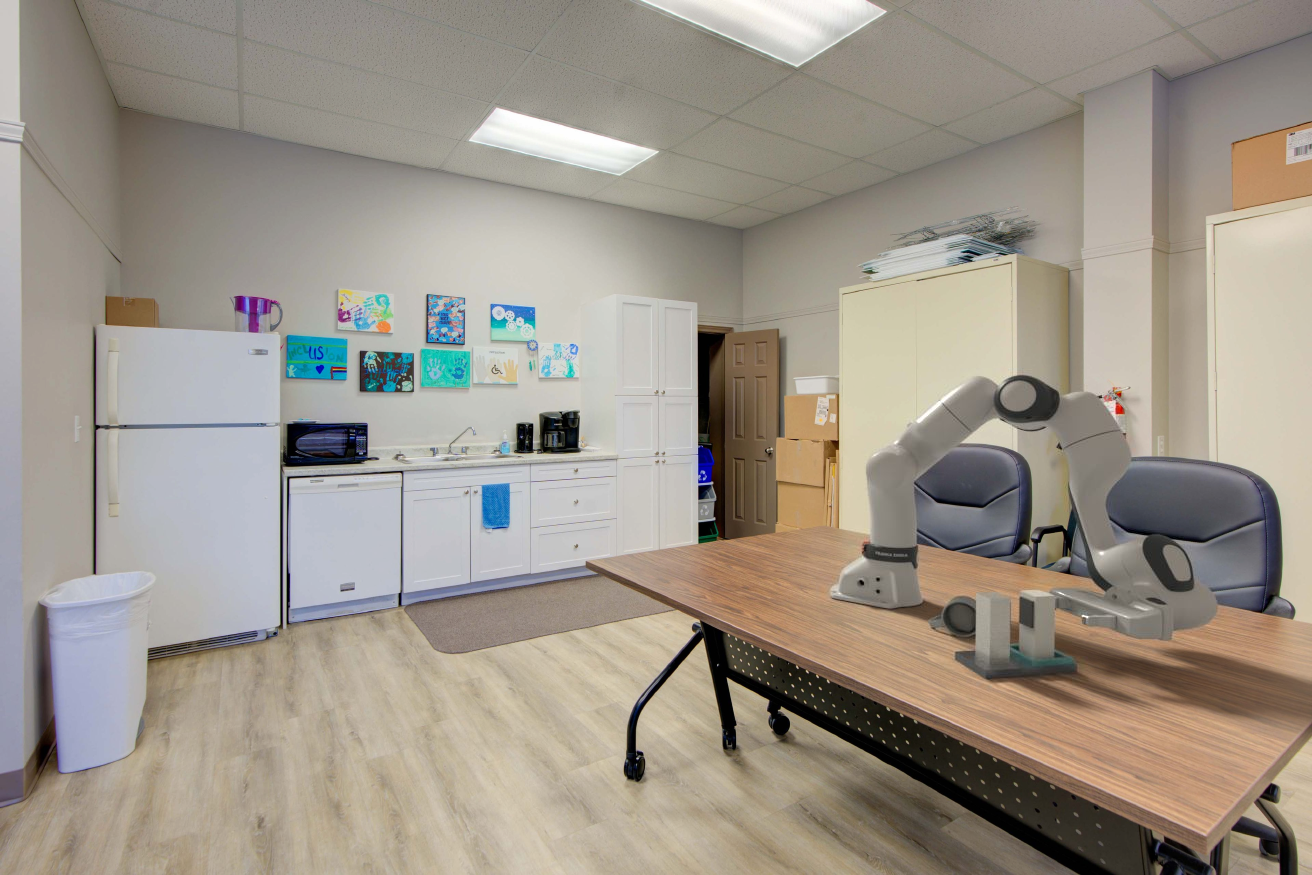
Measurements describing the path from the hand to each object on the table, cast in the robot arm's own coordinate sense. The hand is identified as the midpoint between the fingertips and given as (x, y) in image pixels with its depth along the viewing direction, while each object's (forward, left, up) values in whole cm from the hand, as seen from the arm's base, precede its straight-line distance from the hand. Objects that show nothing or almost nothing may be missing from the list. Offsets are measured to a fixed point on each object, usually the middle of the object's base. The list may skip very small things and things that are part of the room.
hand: (1064, 612), depth 117 cm
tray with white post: (-8, -6, -10) cm, 14 cm away
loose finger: (-5, -3, -8) cm, 10 cm away
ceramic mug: (-19, +11, -10) cm, 24 cm away
